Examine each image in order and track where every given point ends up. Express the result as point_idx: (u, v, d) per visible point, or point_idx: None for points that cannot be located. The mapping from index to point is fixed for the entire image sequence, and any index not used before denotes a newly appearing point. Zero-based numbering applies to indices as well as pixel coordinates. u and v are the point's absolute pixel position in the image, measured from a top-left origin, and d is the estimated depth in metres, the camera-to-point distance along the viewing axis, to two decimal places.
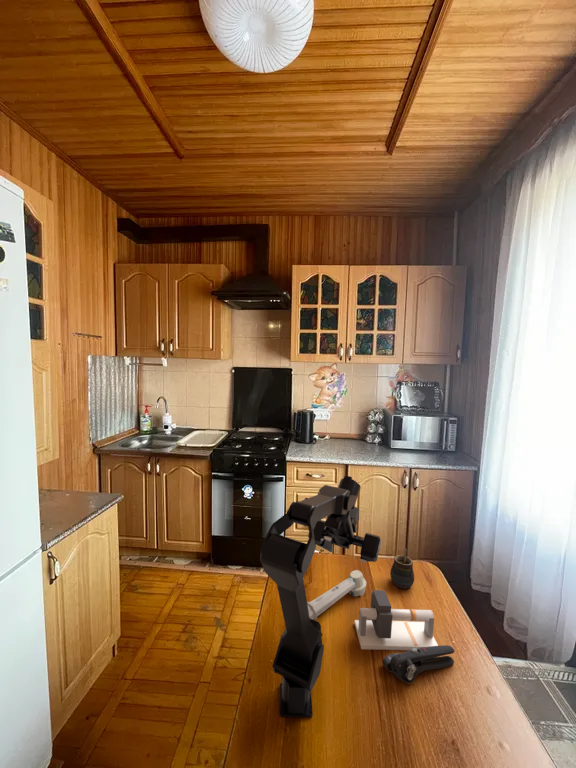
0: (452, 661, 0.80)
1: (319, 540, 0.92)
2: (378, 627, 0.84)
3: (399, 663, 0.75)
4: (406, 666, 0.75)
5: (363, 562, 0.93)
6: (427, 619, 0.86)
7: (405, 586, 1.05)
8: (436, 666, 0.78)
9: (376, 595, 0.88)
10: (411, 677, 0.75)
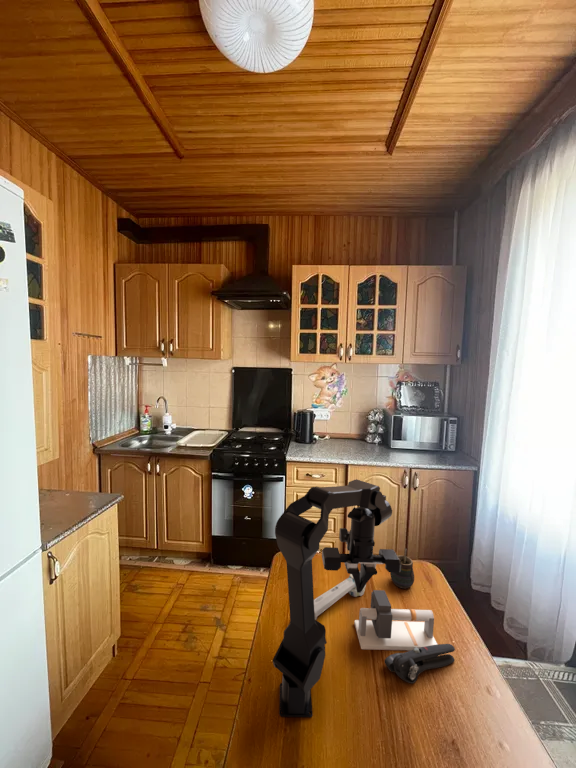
0: (453, 659, 0.81)
1: (339, 562, 0.83)
2: (378, 627, 0.84)
3: (402, 663, 0.75)
4: (409, 666, 0.75)
5: (361, 590, 0.86)
6: (427, 619, 0.86)
7: (405, 586, 1.05)
8: (437, 664, 0.79)
9: (376, 595, 0.88)
10: (414, 677, 0.75)
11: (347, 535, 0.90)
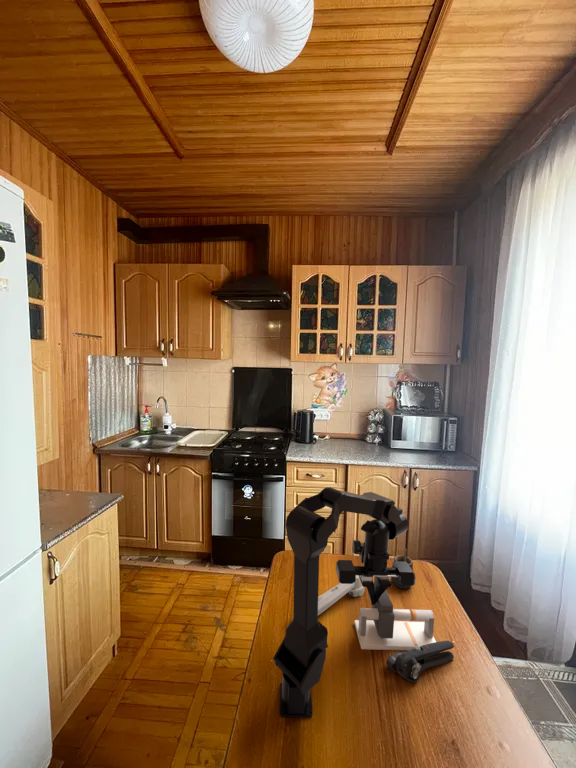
0: (452, 656, 0.82)
1: (354, 575, 0.83)
2: (380, 627, 0.84)
3: (404, 663, 0.75)
4: (411, 665, 0.75)
5: (375, 603, 0.86)
6: (427, 619, 0.86)
7: (405, 586, 1.05)
8: (438, 662, 0.79)
9: None
10: (416, 676, 0.75)
11: (360, 547, 0.90)
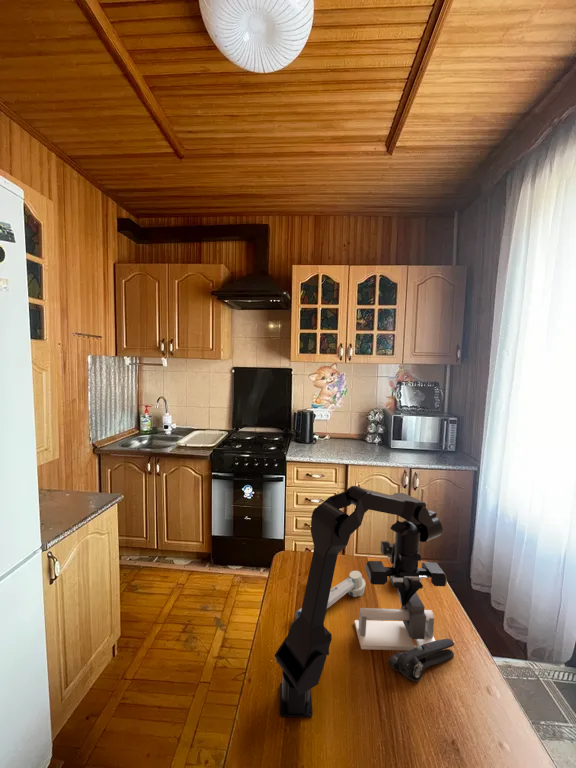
0: (452, 653, 0.82)
1: (386, 576, 0.83)
2: (411, 628, 0.84)
3: (407, 662, 0.75)
4: (413, 664, 0.76)
5: (405, 604, 0.86)
6: (427, 619, 0.86)
7: None
8: (439, 660, 0.80)
9: None
10: (418, 674, 0.76)
11: (390, 548, 0.90)
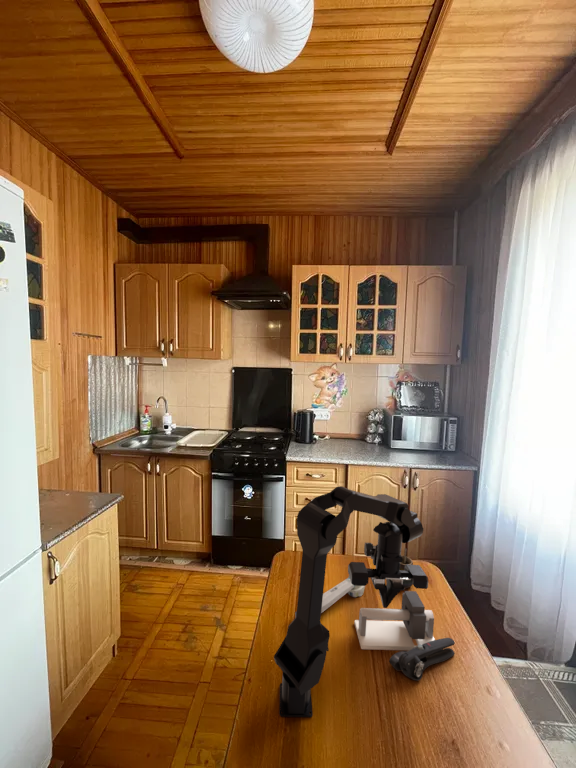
0: (453, 652, 0.83)
1: (367, 577, 0.83)
2: (412, 628, 0.84)
3: (408, 661, 0.75)
4: (414, 663, 0.76)
5: (387, 606, 0.86)
6: (427, 619, 0.86)
7: (405, 586, 1.05)
8: (440, 659, 0.80)
9: (408, 596, 0.88)
10: (419, 674, 0.76)
11: (373, 550, 0.90)
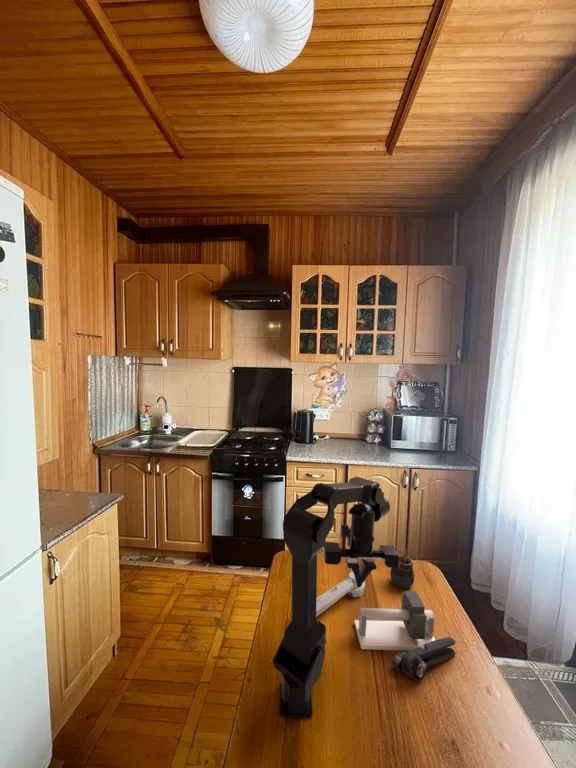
0: (454, 652, 0.83)
1: (339, 556, 0.85)
2: (412, 628, 0.84)
3: (410, 662, 0.75)
4: (416, 664, 0.76)
5: (360, 585, 0.88)
6: (427, 619, 0.86)
7: (405, 586, 1.05)
8: (441, 659, 0.80)
9: (408, 596, 0.88)
10: (421, 674, 0.76)
11: (348, 531, 0.92)
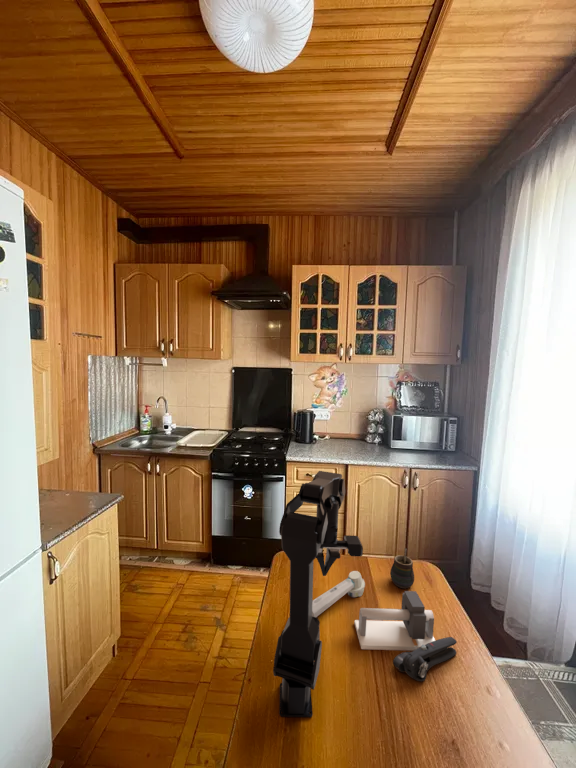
0: (455, 652, 0.83)
1: None
2: (412, 628, 0.84)
3: (412, 662, 0.75)
4: (418, 664, 0.76)
5: (326, 574, 0.91)
6: (427, 619, 0.86)
7: (405, 586, 1.05)
8: (443, 659, 0.80)
9: (408, 596, 0.88)
10: (423, 674, 0.76)
11: None
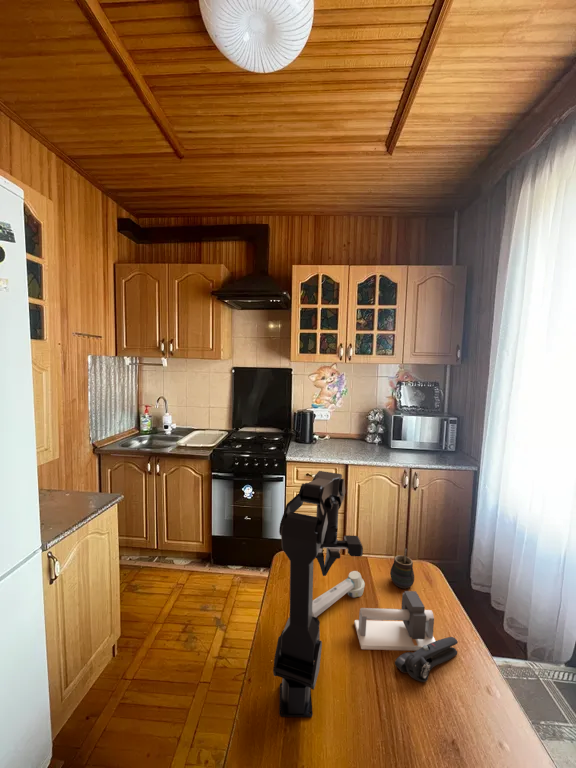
0: (456, 651, 0.83)
1: None
2: (412, 628, 0.84)
3: (415, 663, 0.75)
4: (421, 665, 0.76)
5: (326, 574, 0.91)
6: (427, 619, 0.86)
7: (405, 586, 1.05)
8: (444, 659, 0.80)
9: (408, 596, 0.88)
10: (426, 675, 0.76)
11: None
